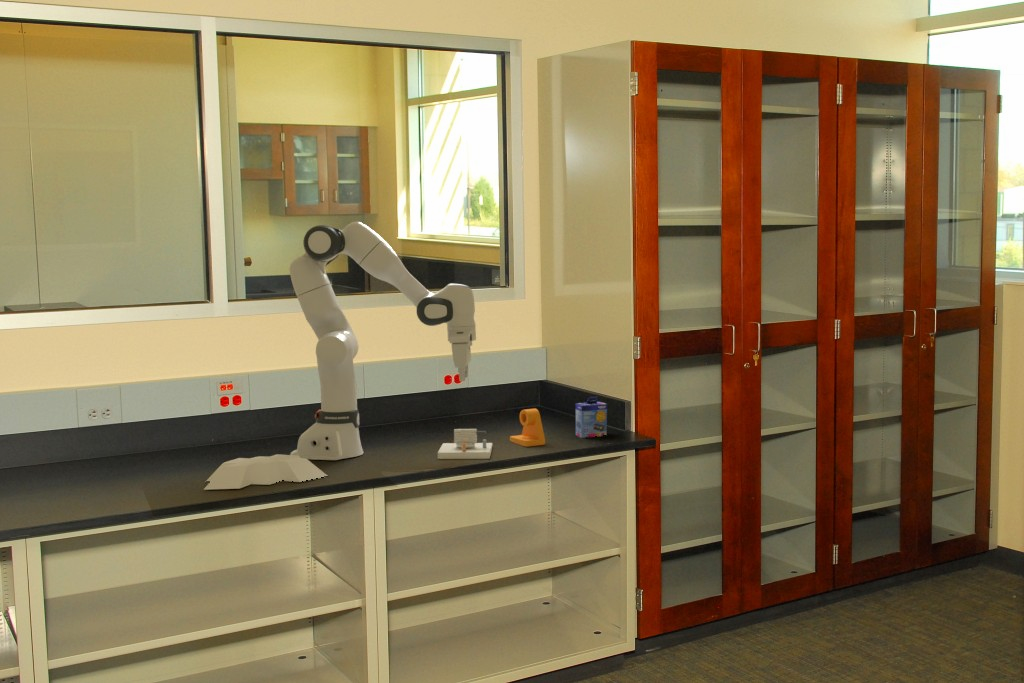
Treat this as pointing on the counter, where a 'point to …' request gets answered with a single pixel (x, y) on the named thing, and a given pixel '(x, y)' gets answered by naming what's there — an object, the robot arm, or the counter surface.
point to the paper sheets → (262, 471)
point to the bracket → (530, 429)
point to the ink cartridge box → (591, 418)
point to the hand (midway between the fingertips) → (463, 379)
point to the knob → (466, 437)
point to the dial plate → (465, 451)
